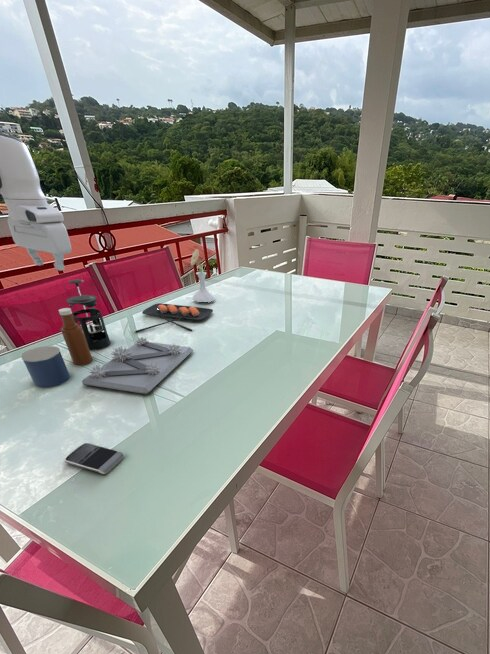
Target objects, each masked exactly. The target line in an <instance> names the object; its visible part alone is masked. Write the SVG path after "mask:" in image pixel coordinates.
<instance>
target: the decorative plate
mask: <svg viewBox="0 0 490 654" xmlns="http://www.w3.org/2000/svg"><path fill="white" fill-rule="evenodd" d="M112 349H113V350H112V351H110V355H112V356H111V357H109V358H110V361H108V362H106V363H105V364H103V365H100V364H95V365H91V366H90V368H89V373H90V374H88V375H87V376H86V377H84V378H83V379H81V382H82V385H84V386H91V387H97V388H103V389H110V390H117V391H123V392H129V393H136V394H143V395H148V394H149V393H150V392H151V391H152V390H153V389H154V388H155V387H156V386H157V385H159V384H160V383H161V382H162V381H163V380H164V379H165V378H166V377H167V376H168V375H169V374H171V372H172V371H174V369H175V368H176V367H178V366H179V365H180V364H181V363H182V362H183V361H184V360H185V359H186V358H187V357H188V356H189V355H190V354H191V353H192V352H193V351H194V349H193V348H192V347H190V346H183V345H179V344H177V345H176V344H175V342H173V343H172V344H168V343H162V342H161V343H160V342H152V341H150V340H148V338H146V336H145V337H138V338H137V339H136V340H135V343H134V344H133V345H131V346H130V347H128V348H127V346H125V347H124V348H123V345H120V346H119V347H113V348H112Z"/></svg>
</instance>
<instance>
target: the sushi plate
mask: <svg viewBox="0 0 490 654" xmlns="http://www.w3.org/2000/svg"><path fill="white" fill-rule="evenodd" d="M157 308H158V309H159V310H157ZM213 311H214V309H212V308H208V307H199V306H190V305H181V304H173V303H154V304H152V305H150V306H149V307H147V308H145V309H144V310H142V311H141V314H143V315H146V316H153V317H158V318H160V319H162V320H164V321H165V322H162V323H157V324H154V325H151V326H148V327H143V328H140V329H136V330H135V333H140V332H143V331H147V330H149V329H152V328H155V327H158V326H162V325H165V324H169V323H170V324H173V325H176V326H179V327H181V328H183V329H185V330H187V331H190V332H193V330H192V328H189V327H187V326H184V325H182V324H180V323H177V322H174V321H179V320H186V321H203V320H205V319H206V318H208V317H209V316H211V314H212V313H213ZM171 319H172V320H171Z"/></svg>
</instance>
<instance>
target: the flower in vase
mask: <svg viewBox="0 0 490 654" xmlns="http://www.w3.org/2000/svg"><path fill="white" fill-rule="evenodd" d="M191 255H192V256H191V257H190V260H191V261H190V266H191V267H193V266H194V265H196V263H197V262H198V264H197V269H198V270H199V271H197V272H196V273H195V274H196V276H197V278H198V280H199V285H200V287H199V290H198V291H196V292H195V293H194V295H192V300H193V302H195V301H196V302H195V303H198V304H200V303H199V302H208V303H207V304H209V303H212V302H214V301H216V299H217V297H216V295H215V294H214V293H212V291H210V290H208V289H207V287H206V275H207V272H206V271H203V270H204V268H203V266H202V263H201V261H200V260H199V257H200V250H199V249H198V248H196V249H195V250H194V251H193V252H192V254H191ZM211 301H212V302H211Z"/></svg>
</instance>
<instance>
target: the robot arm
mask: <svg viewBox="0 0 490 654" xmlns="http://www.w3.org/2000/svg"><path fill="white" fill-rule="evenodd" d="M0 196H2V198H3V201H4V203H5V205H6V209H7V211H8V213H7V216H8V217H7V225H8V228H9V232H10V234H11V237H12V241H13V242H14V243H15V245H16V246H17V247H20V248H25V250H26V252H27V254H28V255H29V256H30V257H31V259H32V261H33V264H34V265H35V266H39V267H40V266H44V264H45V263H44V260H43V257H41V256H40V254H39V253H38V252H44V253H49V254H51V255H52V258H53V259H54V263H53V266H54V269H55V270H56V271H59V272H61V271H64V270H66V267H65V264H64V261H65V255H69V254H71V253H72V244H71V243H72V242H71V240H70V237H69V234H68V230H67V228H66V226H65V224H64V223H63V222H64V221H65V219H64V215H63V213H62V212H61V211H60V210H58V209H56V208H55V207H53V205H51V204H50V203H48V201H47V198H46V195H45V194H44V192H43V190H42V188H41V183H40V177H39V173H38V170H37V167H36V164H35V162H34V159H33V157H32V155H31V153H30V151H29V149H28V147H27V145H26V144H25V142H23V141H22V140H21V139H20V138H18V137H16V136H15V135H12V134H7V133H4V132H0Z"/></svg>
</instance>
